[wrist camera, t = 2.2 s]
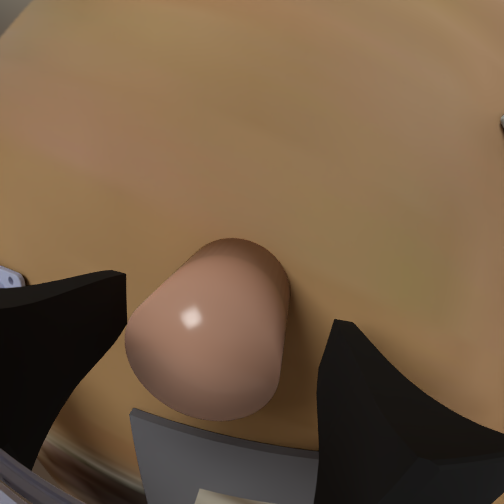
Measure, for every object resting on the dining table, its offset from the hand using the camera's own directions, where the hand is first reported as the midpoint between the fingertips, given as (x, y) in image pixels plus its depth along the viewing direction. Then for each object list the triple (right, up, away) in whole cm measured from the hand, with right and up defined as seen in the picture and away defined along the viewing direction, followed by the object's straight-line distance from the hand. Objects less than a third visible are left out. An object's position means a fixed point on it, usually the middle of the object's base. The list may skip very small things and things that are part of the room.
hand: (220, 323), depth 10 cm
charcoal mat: (0, -18, +8) cm, 19 cm away
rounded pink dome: (0, +1, +3) cm, 3 cm away
